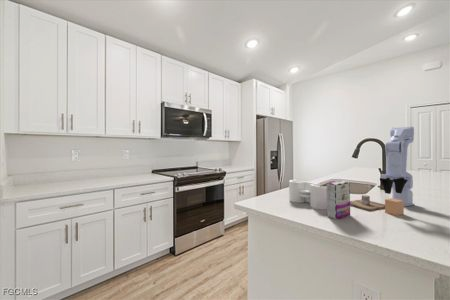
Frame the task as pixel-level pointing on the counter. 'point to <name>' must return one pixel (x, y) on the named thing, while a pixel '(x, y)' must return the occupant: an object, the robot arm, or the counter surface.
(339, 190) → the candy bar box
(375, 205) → the post board
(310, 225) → the counter surface
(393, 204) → the tan rectangular block
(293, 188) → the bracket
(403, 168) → the robot arm
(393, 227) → the counter surface
